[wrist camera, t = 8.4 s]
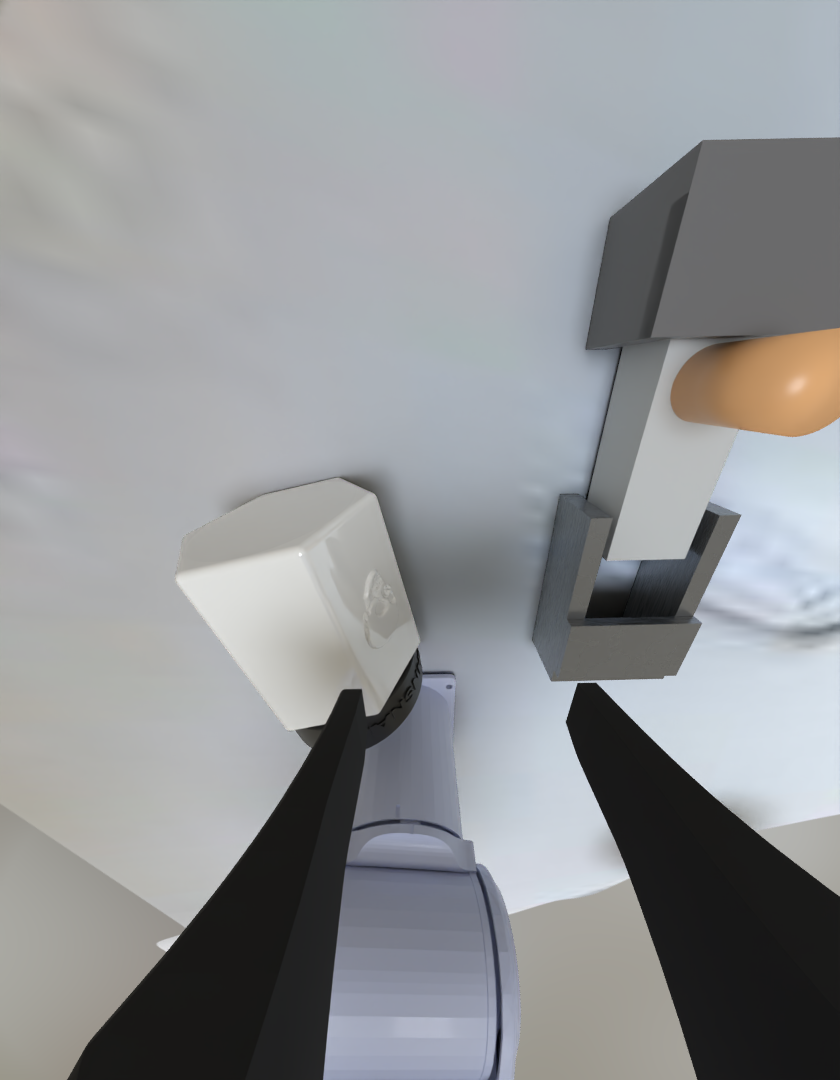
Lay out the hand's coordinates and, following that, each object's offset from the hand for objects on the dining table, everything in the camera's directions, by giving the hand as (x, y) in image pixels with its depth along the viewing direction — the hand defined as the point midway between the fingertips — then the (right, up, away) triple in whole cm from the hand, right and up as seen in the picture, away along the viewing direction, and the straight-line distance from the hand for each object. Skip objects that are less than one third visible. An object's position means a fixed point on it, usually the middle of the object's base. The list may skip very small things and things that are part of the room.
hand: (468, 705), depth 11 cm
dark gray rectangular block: (+10, +17, +3) cm, 20 cm away
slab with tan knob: (+10, +12, +5) cm, 16 cm away
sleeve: (+10, +4, +9) cm, 14 cm away
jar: (-8, +7, +3) cm, 11 cm away
